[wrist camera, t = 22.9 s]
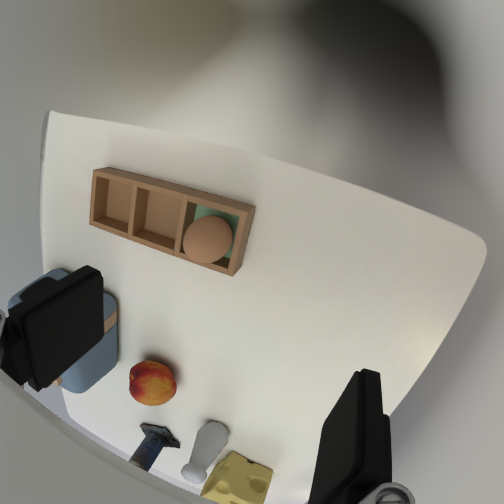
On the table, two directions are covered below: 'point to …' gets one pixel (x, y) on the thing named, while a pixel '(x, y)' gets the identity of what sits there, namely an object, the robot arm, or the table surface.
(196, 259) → the egg
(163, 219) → the compartment tray
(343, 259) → the table surface
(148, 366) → the fruit
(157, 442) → the dark blue cylinder
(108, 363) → the blue toy backpack
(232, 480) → the cheese
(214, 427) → the salt shaker
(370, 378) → the robot arm
